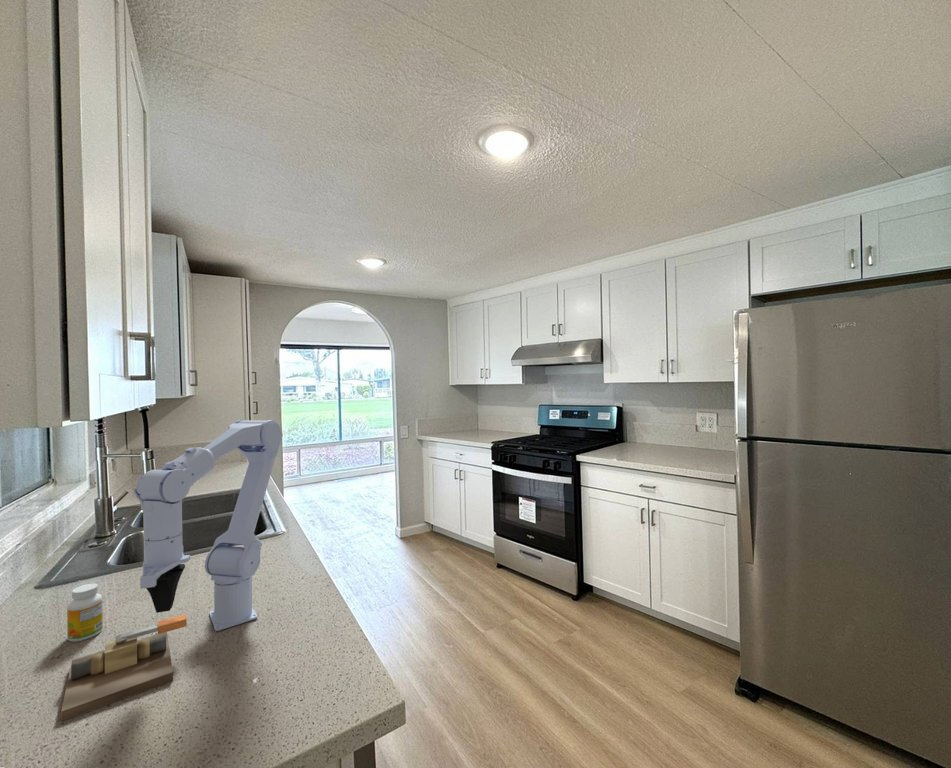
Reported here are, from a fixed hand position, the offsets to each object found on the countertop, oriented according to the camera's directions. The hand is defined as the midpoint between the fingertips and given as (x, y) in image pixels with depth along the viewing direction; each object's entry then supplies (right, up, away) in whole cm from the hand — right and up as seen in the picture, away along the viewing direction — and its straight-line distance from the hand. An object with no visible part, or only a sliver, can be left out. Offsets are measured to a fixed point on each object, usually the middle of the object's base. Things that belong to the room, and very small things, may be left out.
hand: (164, 610), depth 78 cm
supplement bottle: (-24, -11, +11) cm, 29 cm away
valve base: (-7, -10, -1) cm, 13 cm away
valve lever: (-3, -5, +1) cm, 6 cm away
